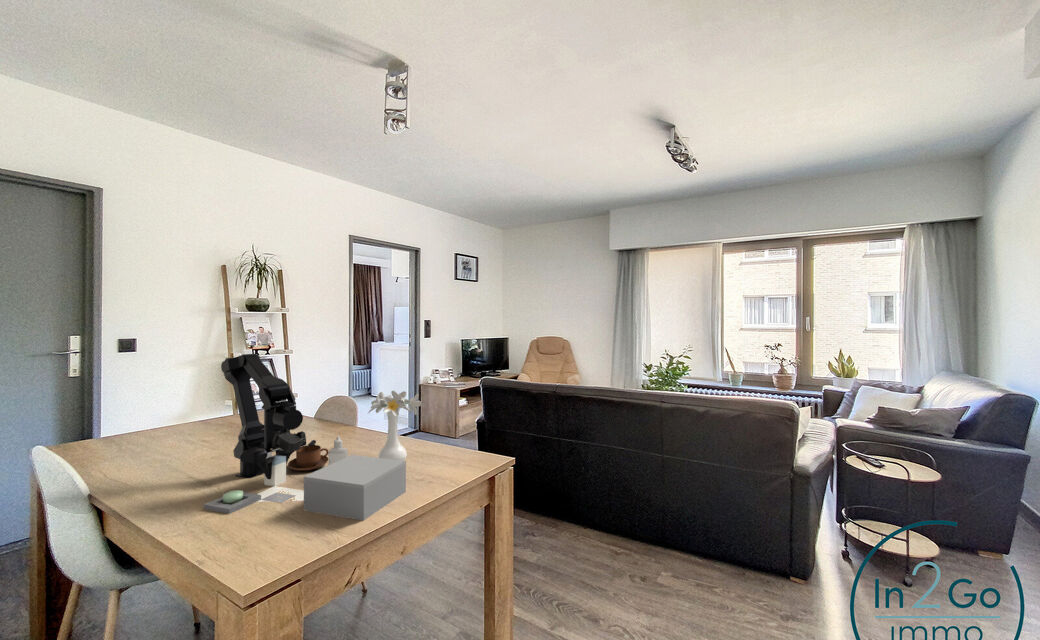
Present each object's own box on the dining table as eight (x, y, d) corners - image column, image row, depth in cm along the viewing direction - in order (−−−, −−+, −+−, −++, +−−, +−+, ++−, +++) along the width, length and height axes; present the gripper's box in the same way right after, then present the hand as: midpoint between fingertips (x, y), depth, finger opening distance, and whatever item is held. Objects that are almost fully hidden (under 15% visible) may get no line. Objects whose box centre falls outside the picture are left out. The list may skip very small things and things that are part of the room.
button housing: (203, 510, 110) (203, 504, 110) (236, 496, 119) (236, 490, 119) (229, 515, 108) (229, 509, 108) (261, 500, 116) (261, 495, 116)
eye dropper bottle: (338, 477, 133) (338, 439, 133) (326, 474, 136) (326, 436, 136) (349, 472, 137) (349, 435, 137) (338, 469, 140) (337, 433, 140)
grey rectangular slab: (303, 511, 110) (303, 476, 109) (352, 485, 127) (352, 454, 127) (363, 522, 104) (363, 485, 104) (405, 492, 121) (405, 461, 121)
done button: (219, 501, 112) (219, 495, 112) (234, 495, 116) (234, 489, 116) (231, 504, 110) (231, 497, 110) (247, 497, 115) (246, 491, 115)
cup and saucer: (315, 457, 150) (315, 440, 150) (335, 465, 144) (335, 447, 143) (280, 468, 140) (280, 449, 140) (300, 477, 134) (300, 457, 133)
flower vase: (426, 460, 150) (426, 389, 150) (384, 476, 134) (384, 397, 134) (401, 453, 157) (401, 385, 157) (358, 468, 141) (358, 393, 141)
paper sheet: (236, 503, 114) (236, 502, 114) (274, 487, 126) (274, 485, 126) (283, 512, 109) (283, 510, 109) (318, 493, 121) (318, 492, 121)
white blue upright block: (264, 485, 127) (264, 458, 127) (275, 480, 131) (275, 454, 131) (274, 487, 126) (274, 460, 126) (286, 482, 129) (286, 455, 129)
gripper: (269, 435, 117) (269, 491, 117) (320, 419, 134) (320, 468, 135) (238, 431, 120) (238, 486, 120) (292, 417, 138) (292, 465, 138)
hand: (275, 476), depth 128 cm, fingers closed on white blue upright block, 4 cm apart
